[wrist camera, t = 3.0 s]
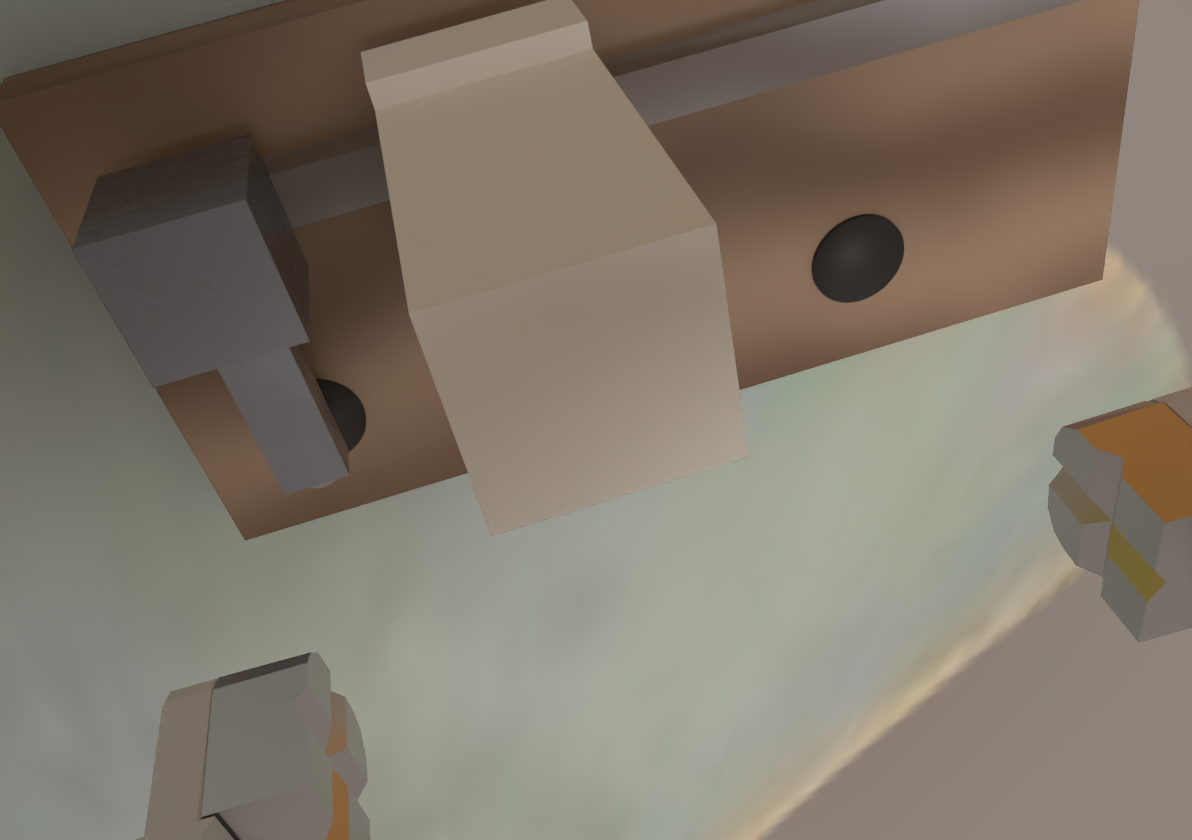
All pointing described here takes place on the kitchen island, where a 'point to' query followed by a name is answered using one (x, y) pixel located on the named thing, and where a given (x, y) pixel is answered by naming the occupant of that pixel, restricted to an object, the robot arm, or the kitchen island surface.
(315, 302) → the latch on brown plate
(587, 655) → the kitchen island surface
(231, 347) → the fixed leg
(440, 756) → the kitchen island surface
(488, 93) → the block
